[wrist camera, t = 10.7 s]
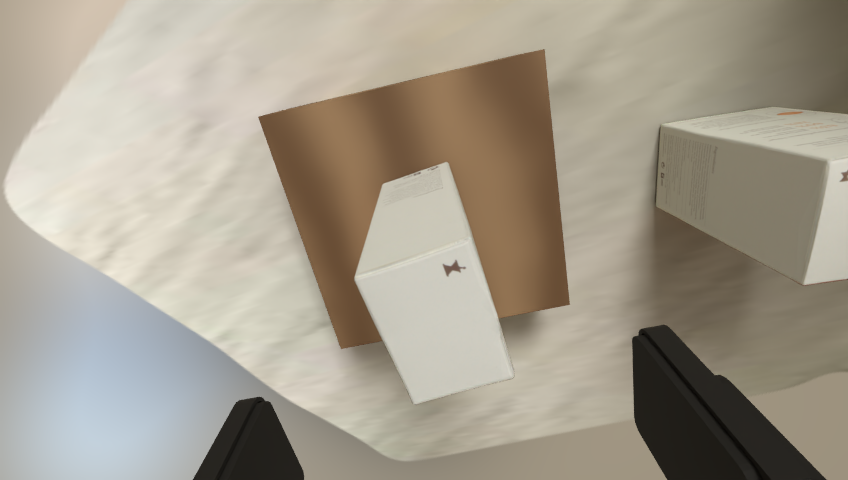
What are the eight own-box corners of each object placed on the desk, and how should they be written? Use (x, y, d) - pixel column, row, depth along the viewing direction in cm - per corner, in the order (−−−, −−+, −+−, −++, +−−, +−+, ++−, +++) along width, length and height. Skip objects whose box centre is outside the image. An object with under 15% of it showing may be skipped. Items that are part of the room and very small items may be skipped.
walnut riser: (518, 54, 27) (544, 49, 22) (544, 266, 33) (569, 304, 28) (289, 108, 28) (258, 116, 23) (353, 304, 34) (340, 348, 29)
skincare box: (379, 183, 24) (348, 274, 13) (448, 159, 24) (475, 233, 13) (413, 270, 27) (411, 410, 15) (477, 250, 26) (521, 379, 15)
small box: (653, 207, 32) (800, 289, 19) (658, 122, 29) (829, 156, 17) (761, 191, 31) (978, 265, 19) (775, 104, 29) (1033, 126, 17)
